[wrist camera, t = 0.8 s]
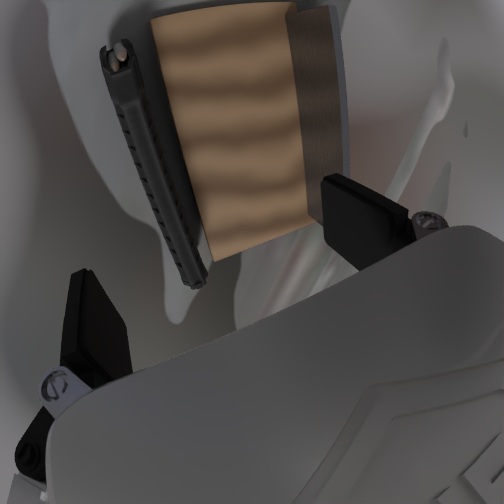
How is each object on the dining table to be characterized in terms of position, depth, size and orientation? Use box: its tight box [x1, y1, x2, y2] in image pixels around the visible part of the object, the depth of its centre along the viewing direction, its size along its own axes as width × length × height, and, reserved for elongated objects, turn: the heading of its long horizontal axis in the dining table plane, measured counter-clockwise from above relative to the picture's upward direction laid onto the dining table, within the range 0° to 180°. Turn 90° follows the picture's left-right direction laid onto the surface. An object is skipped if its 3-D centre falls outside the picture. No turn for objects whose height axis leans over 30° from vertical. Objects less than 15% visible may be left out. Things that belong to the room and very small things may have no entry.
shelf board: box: [150, 2, 317, 262], centre depth 36 cm, size 34×18×2 cm, turn 11°
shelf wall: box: [284, 5, 350, 226], centre depth 33 cm, size 30×1×9 cm, turn 11°
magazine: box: [100, 39, 208, 290], centre depth 30 cm, size 17×3×30 cm
